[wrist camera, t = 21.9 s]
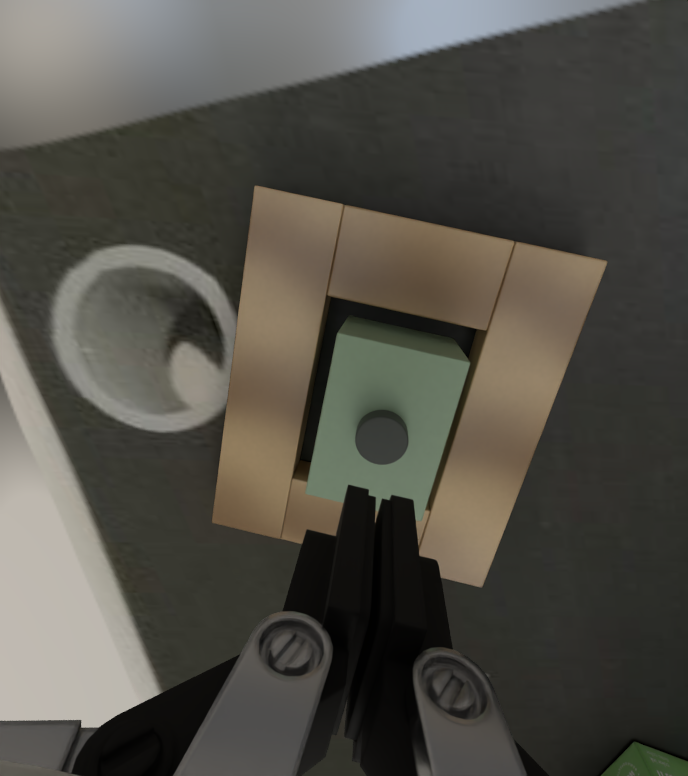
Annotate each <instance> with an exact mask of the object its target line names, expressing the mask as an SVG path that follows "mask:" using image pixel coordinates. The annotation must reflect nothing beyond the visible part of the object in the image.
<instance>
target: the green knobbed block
mask: <svg viewBox="0 0 688 776" xmlns="http://www.w3.org/2000/svg"><path fill="white" fill-rule="evenodd" d="M469 366H470V361H469V360H468V358H467V357H466V356H465V354H464V353H463V351H462V350H461V348H460V347H459V345H458V344H457V343H456V341H455V340H454V339H453V338H449V337H445V336H440V335H436V334H431V333H427V332H422V331H418V330H413V329H409V328H404V327H400V326H395V325H391V324H386V323H382V322H377V321H373V320H368V319H364V318H359V317H355V316H348V318H347V319H346V321H345V322H344V324H343V325H342V327H341V328H340V330H339V331H338V333H337V336H336V341H335V346H334V351H333V356H332V361H331V366H330V371H329V376H328V381H327V386H326V391H325V396H324V401H323V406H322V411H321V416H320V421H319V426H318V431H317V436H316V441H315V446H314V451H313V456H312V460H311V465H310V470H309V475H308V480H307V485H306V490H305V494H308V495H312V496H316V497H320V498H325V499H329V500H333V501H337V502H341V503H344V499H345V494H346V490H347V486H348V485H353V486H357V487H361V488H366V489H369V495H370V496H375V497H376V511H379V507H380V503H381V500H382V498H383V499H387V500H389V499H390V497H391V495H396V496H400V497H404V498H409V499H413V501H414V509H415V518H416V520H417V521H422V519H423V516H424V512H425V509H426V506H427V503H428V499H429V496H430V493H431V490H432V486H433V483H434V480H435V477H436V473H437V470H438V467H439V464H440V460H441V457H442V454H443V451H444V447H445V444H446V441H447V438H448V435H449V431H450V428H451V425H452V422H453V418H454V415H455V412H456V409H457V405H458V402H459V399H460V396H461V392H462V389H463V386H464V383H465V379H466V376H467V373H468V370H469Z"/></svg>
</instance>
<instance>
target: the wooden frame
mask: <svg viewBox="0 0 688 776" xmlns="http://www.w3.org/2000/svg"><path fill="white" fill-rule="evenodd" d="M606 265H607V261H606V260H601V259H597V258H592V257H587V256H583V255H578V254H573V253H569V252H564V251H559V250H555V249H550V248H545V247H541V246H536V245H531V244H527V243H522V242H514V241H513V240H508V239H503V238H499V237H494V236H489V235H485V234H480V233H475V232H471V231H466V230H461V229H457V228H452V227H447V226H443V225H438V224H433V223H429V222H424V221H419V220H415V219H410V218H405V217H401V216H396V215H391V214H387V213H382V212H377V211H373V210H368V209H363V208H359V207H354V206H349V205H343V204H341V203H336V202H331V201H327V200H322V199H317V198H313V197H308V196H303V195H299V194H294V193H289V192H285V191H280V190H275V189H271V188H266V187H261V186H257V185H255V187H254V195H253V203H252V211H251V218H250V226H249V234H248V242H247V250H246V258H245V266H244V273H243V281H242V289H241V297H240V305H239V313H238V321H237V328H236V336H235V344H234V352H233V360H232V368H231V376H230V383H229V391H228V399H227V407H226V415H225V423H224V431H223V438H222V446H221V454H220V462H219V470H218V478H217V486H216V493H215V501H214V509H213V517H212V523H216V524H220V525H224V526H228V527H232V528H236V529H241V530H245V531H249V532H253V533H257V534H261V535H265V536H269V537H274V538H278V539H280V538H281V539H284V540H288V541H292V542H296V543H300V544H302V543H303V540H304V536H305V533H306V530H307V529H308V530H313V531H317V532H321V533H325V534H329V535H334V536H336V532H337V528H338V524H339V520H340V515H341V511H342V507H343V503H341V502H337V501H333V500H329V499H325V498H320V497H316V496H312V495H308V494H305V490H306V485H307V480H308V475H309V470H310V465H311V462H306V461H302V460H300V456H301V450H302V445H303V440H304V435H305V430H306V425H307V419H308V414H309V409H310V404H311V399H312V394H313V388H314V383H315V378H316V373H317V368H318V363H319V357H320V352H321V347H322V342H323V337H324V332H325V326H326V321H327V316H328V311H329V306H330V301H331V297H335V298H340V299H344V300H349V301H353V302H358V303H362V304H367V305H371V306H376V307H380V308H385V309H389V310H394V311H398V312H403V313H407V314H412V315H416V316H421V317H425V318H430V319H434V320H439V321H443V322H448V323H452V324H457V325H461V326H466V327H470V328H475V329H477V331H476V334H475V337H474V340H473V344H472V347H471V350H470V353H469V357H468V360H469V361H470V366H469V370H468V373H467V376H466V379H465V383H464V386H463V389H462V392H461V396H460V399H459V402H458V405H457V409H456V412H455V415H454V418H453V422H452V425H451V428H450V431H449V435H448V438H447V441H446V444H445V447H444V451H443V454H442V457H441V460H440V464H439V467H438V470H437V473H436V477H435V480H434V483H433V486H432V490H431V493H430V496H429V499H428V503H427V506H426V509H425V512H424V516H423V519H422V521H417V520H416V528H417V537H418V546H419V556H422V557H427V558H431V559H435V560H437V561H438V565H439V570H440V576H441V578H444V579H448V580H452V581H456V582H461V583H465V584H469V585H473V586H477V587H483V584H484V582H485V579H486V576H487V574H488V571H489V569H490V566H491V563H492V561H493V558H494V556H495V553H496V550H497V548H498V545H499V543H500V540H501V537H502V535H503V532H504V530H505V527H506V524H507V522H508V519H509V517H510V514H511V511H512V509H513V506H514V504H515V501H516V498H517V496H518V493H519V491H520V488H521V486H522V483H523V480H524V478H525V475H526V473H527V470H528V467H529V465H530V462H531V460H532V457H533V454H534V452H535V449H536V447H537V444H538V441H539V439H540V436H541V434H542V431H543V428H544V426H545V423H546V421H547V418H548V415H549V413H550V410H551V408H552V405H553V402H554V400H555V397H556V395H557V392H558V389H559V387H560V384H561V382H562V379H563V376H564V374H565V371H566V369H567V366H568V364H569V361H570V358H571V356H572V353H573V351H574V348H575V345H576V343H577V340H578V338H579V335H580V332H581V330H582V327H583V325H584V322H585V319H586V317H587V314H588V312H589V309H590V306H591V304H592V301H593V299H594V296H595V293H596V291H597V288H598V286H599V283H600V280H601V278H602V275H603V273H604V270H605V267H606ZM377 514H378V511H376V512H375V522H376V518H377Z"/></svg>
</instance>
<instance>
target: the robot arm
mask: <svg viewBox="0 0 688 776" xmlns="http://www.w3.org/2000/svg"><path fill="white" fill-rule="evenodd" d="M375 512H376V497H375V496H370V495H369V489H366V488H361V487H357V486H353V485H348V486H347V490H346V494H345V499H344V503H343V507H342V511H341V515H340V520H339V524H338V528H337V532H336V536H334V535H329V534H325V533H321V532H317V531H313V530H308V529H307V530H306V533H305V536H304V540H303V543H302V547H301V550H300V553H299V557H298V560H297V564H296V567H295V571H294V574H293V578H292V581H291V584H290V588H289V591H288V595H287V598H286V602H285V605H284V608H283V612H279V613H275V614H272V615H270V616H268V617H267V618H265V619H264V620H262V621H261V622H260V623H259V624H258V625H257V627H256V628H255V629H254V631H253V632H252V634H251V636H250V638H249V640H248V641H247V643H246V645H245V647H244V649H243V650H242V652H241V654H240V655H238V656H236V657H234V658H232V659H230V660H228V661H226V662H224V663H222V664H220V665H218V666H216V667H214V668H212V669H210V670H208V671H206V672H204V673H202V674H200V675H198V676H196V677H193V678H191V679H189V680H187V681H185V682H183V683H181V684H179V685H177V686H175V687H173V688H171V689H169V690H167V691H165V692H163V693H161V694H159V695H157V696H155V697H153V698H151V699H149V700H147V701H145V702H143V703H141V704H139V705H137V706H135V707H133V708H131V709H129V710H127V711H125V712H123V713H121V714H119V715H117V716H115V717H114V718H112V719H111V720H109V721H108V722H106V723H105V724H103V725H101V727H99V728H81V720H54V721H51V720H48V721H0V776H302V775H303V774H304V773H305V772H307V771H308V770H309V769H310V768H312V767H313V766H314V765H316V764H317V763H318V762H320V761H321V760H322V759H323V758H325V757H326V753H327V750H328V746H329V742H330V739H331V735H332V734H333V735H337V732H338V729H339V725H340V722H341V718H342V715H343V711H344V708H345V704H346V701H347V709H346V720H345V732H344V735H345V738H349V739H353V740H354V742H353V756H352V761H355V762H359V763H360V766H361V768H362V769H363V771H364V772H365V774H366V775H367V776H549V775H548V774H547V773H546V772H545V771H544V770H543V769H542V768H541V767H540V766H539V765H538V764H537V763H536V762H535V761H534V760H533V759H532V758H531V757H530V756H529V754H528V753H527V752H526V751H525V750H524V749H523V748H522V747H521V746H520V745H519V744H518V743H517V742H516V741H515V740H514V739H513V737H512V734H511V732H510V729H509V726H508V724H507V721H506V719H505V716H504V713H503V711H502V708H501V706H500V703H499V701H498V698H497V695H496V693H495V690H494V688H493V686H492V684H491V682H490V680H489V678H488V677H487V675H486V674H485V673H484V672H483V671H482V669H481V668H480V667H479V666H478V665H477V664H476V663H475V662H473V661H472V660H471V659H470V658H468V657H467V656H465V655H463V654H461V653H459V652H457V651H455V650H453V648H452V642H451V636H450V630H449V624H448V618H447V612H446V606H445V600H444V594H443V588H442V582H441V576H440V570H439V565H438V561H437V560H435V559H431V558H427V557H422V556H419V546H418V537H417V528H416V518H415V509H414V501H413V499H409V498H404V497H400V496H396V495H391V497H390V499H389V500H387V499H383V498H382V500H381V503H380V507H379V511H378V514H377V518H376V522H375ZM347 697H348V698H347Z"/></svg>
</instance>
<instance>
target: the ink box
mask: <svg viewBox="0 0 688 776" xmlns="http://www.w3.org/2000/svg"><path fill="white" fill-rule="evenodd" d="M601 776H688V761H685V760H682V759H680V758H677V757H674V756H672V755H669V754H666V753H664V752H661V751H658V750H656V749H653V748H651V747H648V746H645V745H642V744H640V743H637V742H633V743H632V744H631V745H630V746H629V747H628V748H627V749H626V750H625V751H624V752H623V753H622V754H621V756H620V757H619V758H618V759H617V760H616V761H615V762H614V763H613V764H612V765H611V766H610V767H609V768H608V769H607V770H606V771H605V772H604V773H603V774H602V775H601Z"/></svg>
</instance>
